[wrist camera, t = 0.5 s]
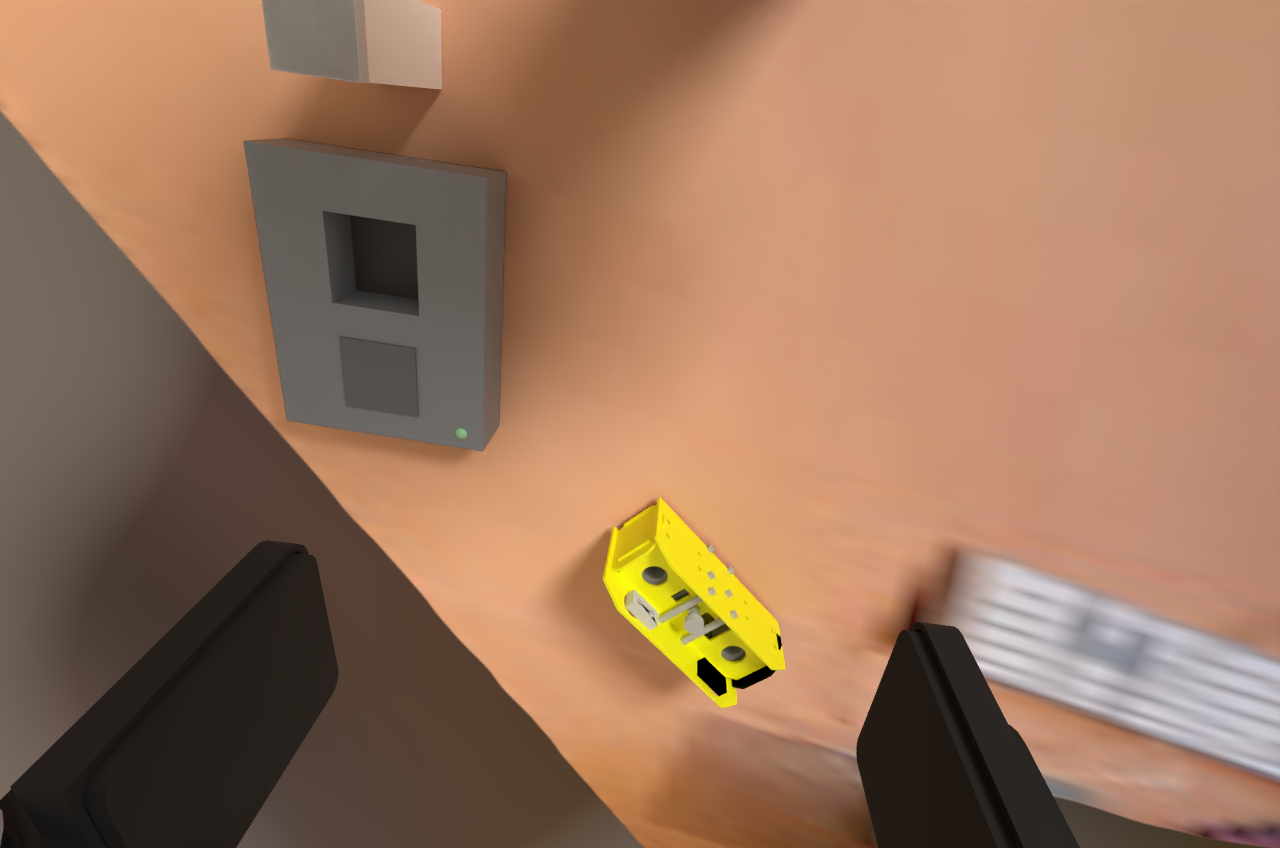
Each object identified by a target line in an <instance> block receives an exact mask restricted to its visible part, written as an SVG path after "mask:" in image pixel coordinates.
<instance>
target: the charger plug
mask: <svg viewBox="0 0 1280 848" xmlns="http://www.w3.org/2000/svg"><path fill="white" fill-rule="evenodd" d="M262 5H263V13H264V20H265V28H266V36H267V44H268V51H269V59H270V67H271V70H277V71H283V72H290V73H296V74H303V75H310V76H316V77H323V78H330V79H336V80H343V81H350V82H356V83H364V84H369V83H378V84H388V85H399V86H409V87H420V88H430V89H441V90H442V47H441V9H439V8H437V7H434V6H432V5H429V4H427V3H424V2H422V1H420V0H262Z"/></svg>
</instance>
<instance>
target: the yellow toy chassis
mask: <svg viewBox="0 0 1280 848" xmlns="http://www.w3.org/2000/svg"><path fill="white" fill-rule="evenodd" d="M713 551H714V548H713V547H712V545H709V546H706V545H705V544H704V543H703V542H702V541H701V540H700V539H699V538H698V537H697V536H696V535H695V534H694V533H693V531H692V530H691V529H690V528H689V527H688V526H687V525H686V524H685V523H684V522H683V521H682V520H681V519H680V518H679V517H678V516H677V515H676V513H675V512H674V511H673V510H672V509H671V508H670V507H669V506H668V505H667V504H666V503H665V502H664V501H663V500H662V499H661V498H660V497H659V498H658V502H657V505H652V506H650V507H649V508H647V509H646V510H644V511H643V512H641V513H639V514H638V515H636V516H635V517H633V518H632V519H630V520H629V521H627V522H625V523H624V526H623V527H622V528H621V529H620V530H618V529H617V528H616V527H615V526H614V527H613V528H612V533H611V538H610V543H609V548H608V553H607V558H606V563H605V568H604V573H603V578H602V579H603V581H604V583H605V585H606V588H607V590H608V592H609V594H610V596H611V598H612V601H613V603H614V605H615V607H616V609H617V611H619V612H620V613H621V614H622V615H623V616H624V617H625V618H626V619H627V620H628V621H629V622H630V623H631V624H632V625H633V626H634V627H636V628H637V629H638V630H639V631H640V632H641V633H642V634H643V635H644V636H645V637H646V638H647V639H648V640H649V641H650V642H652V643H653V644H654V645H655V646H656V647H657V648H658V649H659V650H660V651H661V652H662V653H663V654H664V655H665V656H666V657H667V658H669V659H670V660H671V661H672V662H673V663H674V664H675V665H676V666H677V667H678V668H679V669H680V670H681V671H682V672H683V673H684V674H686V675H687V676H688V677H689V678H690V679H691V680H692V681H693V682H694V683H695V684H696V685H697V686H698V687H699V688H700V689H701V690H703V691H704V692H705V693H706V694H707V695H708V696H709V697H710V698H711V699H712V700H713V701H714V702H715V703H716V704H717V705H719V706H720V707H721V708H726V707H730V706H734V705H736V704H737V694H736V688H740V689H745V688H747V687H749V686H751V685H753V684H755V683H758V682H760V681H762V680H764V679H766V678H768V677H770V676H772V674H773V673H774V672H775V671H776V670H785V663H784V656H783V650H782V643H781V637H780V631H779V625H778V622H777V621H776V620H775V619H774V617H773V616H772V615H771V614H770V613H769V612H768V611H767V610H766V609H765V608H764V607H763V606H762V605H761V604H760V603H759V602H758V600H757V599H756V598H755V597H754V596H753V595H752V594H751V593H750V592H749V591H748V590H747V589H746V588H745V587H744V586H743V585H742V583H741V582H740V581H739V580H738V579H737V578H736V577H735V576H734V575H733V574H732V573H734V569H733V568H732V567H731V566H730V567H729V568H726V567H725V565H724V564H723V563H722V562H721V561H720V560H719V559H718V558H717V557H716V556H715V555H714V554H713V553H712V552H713ZM625 596H627V598H626V604H625V603H624V598H625ZM626 608H627V609H628V610H629V611H630V612H631V613H632V614H633V615H634V616H635V617H636V618H634V617H633V616H631V615H630V614H629V612H628V611H627V609H626ZM709 687H710V688H711V689H712V690H713V691H714V692H715V693H716V694H717V695H718V696H717V695H715V694H714V693H713V692H712V691H711V689H710V688H709Z"/></svg>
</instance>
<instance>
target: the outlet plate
mask: <svg viewBox="0 0 1280 848" xmlns="http://www.w3.org/2000/svg"><path fill="white" fill-rule="evenodd" d="M244 147H245V154H246V160H247V167H248V173H249V180H250V186H251V193H252V199H253V205H254V212H255V218H256V225H257V231H258V238H259V244H260V251H261V257H262V263H263V270H264V276H265V283H266V289H267V296H268V302H269V309H270V315H271V321H272V328H273V334H274V341H275V347H276V354H277V360H278V367H279V373H280V380H281V386H282V392H283V399H284V405H285V412H286V418H287V421H293V422H300V423H306V424H312V425H319V426H325V427H331V428H338V429H344V430H350V431H357V432H363V433H369V434H376V435H382V436H388V437H395V438H401V439H408V440H414V441H420V442H427V443H433V444H439V445H446V446H452V447H458V448H465V449H471V450H477V451H483V450H484V449H485V447H486V446H487V444H488V442H489V441H490V439H491V438H492V436H493V434H494V433H495V431H496V430H497V428H498V427H499V417H500V382H501V346H502V311H503V276H504V240H505V205H506V172H504V171H498V170H491V169H484V168H478V167H471V166H465V165H458V164H451V163H445V162H438V161H432V160H425V159H418V158H412V157H405V156H399V155H392V154H386V153H379V152H372V151H366V150H359V149H353V148H346V147H339V146H333V145H326V144H320V143H313V142H307V141H300V140H293V139H287V138H283V139H267V140H251V141H244Z"/></svg>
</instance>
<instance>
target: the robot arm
mask: <svg viewBox="0 0 1280 848" xmlns="http://www.w3.org/2000/svg"><path fill="white" fill-rule="evenodd" d="M337 680H338V666H337V661H336V656H335V651H334V646H333V641H332V636H331V631H330V626H329V621H328V616H327V611H326V606H325V601H324V596H323V591H322V586H321V581H320V576H319V571H318V565H317V562H316V559H315V557H314V556H312V555H309V554H308V552H307V549H306V548H305V547H304V546H303V545H300V544H293V543H285V542H277V541H269V540H266V541H262V542H260V543H259V544H258V545H256V546H255V547H254V548H253V549H252V550H251V551H250V552H249V553H248V554H247V555H246V556H245V557H244V558H243V559H242V560H241V561H240V562H239V563H238V564H237V565H236V566H235V567H234V568H233V569H232V570H231V571H230V572H229V573H228V574H227V575H226V576H224V578H223V579H221V580H220V581H219V583H217V584H216V586H214V587H213V588H212V589H211V590H210V591H209V592H208V593H207V594H206V595H205V596H204V597H203V598H202V599H201V600H200V601H199V602H198V603H197V604H196V605H195V606H194V607H193V608H192V609H191V610H190V611H189V612H188V613H187V614H186V615H185V616H184V617H183V618H182V619H181V620H180V621H179V622H178V623H177V624H176V625H175V626H174V627H173V628H172V629H171V630H170V631H169V632H168V633H166V634H165V636H164V637H162V638H161V640H159V641H158V642H157V643H156V644H155V645H154V646H153V647H152V648H151V649H150V650H149V651H148V652H147V653H146V654H145V655H144V656H143V657H142V658H141V659H140V660H139V661H138V662H137V663H136V664H135V665H134V666H133V667H132V668H131V669H130V670H129V671H128V672H127V673H126V674H125V675H124V676H123V677H122V678H121V679H120V680H119V681H118V682H117V683H116V684H115V685H113V687H112V688H110V689H109V690H108V691H107V692H106V693H105V694H104V695H103V696H102V697H101V698H100V699H99V700H98V701H97V702H96V703H95V704H94V705H93V706H92V707H91V708H90V709H89V710H88V711H87V712H86V713H85V714H84V715H83V716H82V717H81V718H80V719H79V720H78V721H77V722H76V723H75V724H74V725H73V726H72V727H71V728H70V729H69V730H68V731H67V732H66V733H65V734H64V735H63V736H62V737H61V738H60V739H59V740H57V741H56V742H55V743H54V744H53V746H51V747H50V748H49V749H48V750H47V751H46V752H45V753H44V754H43V755H42V756H41V757H40V758H39V759H38V760H37V761H36V762H35V763H34V764H33V765H32V766H31V767H30V768H29V769H28V770H27V771H26V772H25V773H24V774H23V775H22V776H21V777H20V778H19V779H18V780H17V781H16V782H15V783H14V784H13V785H12V786H11V790H10V791H9V792H8V793H7V794H6V795H5V796H4V797H3V798H2V799H1V800H0V848H236V847H237V846H238V844H239V842H240V841H241V839H242V838H243V836H244V834H245V833H246V831H247V830H248V828H249V826H250V825H251V823H252V822H253V820H254V818H255V817H256V815H257V814H258V812H259V810H260V809H261V807H262V806H263V804H264V802H265V801H266V799H267V798H268V796H269V794H270V793H271V791H272V790H273V788H274V786H275V785H276V783H277V782H278V780H279V778H280V777H281V775H282V774H283V772H284V770H285V769H286V767H287V766H288V764H289V763H290V761H291V759H292V758H293V756H294V754H295V753H296V751H297V750H298V748H299V746H300V745H301V743H302V742H303V740H304V739H305V737H306V735H307V734H308V732H309V730H310V729H311V727H312V726H313V724H314V723H315V721H316V719H317V718H318V716H319V715H320V713H321V711H322V710H323V708H324V707H325V705H326V703H327V702H328V700H329V699H330V697H331V695H332V694H333V692H334V690H335V687H336V684H337ZM857 762H858V767H859V771H860V775H861V779H862V783H863V787H864V791H865V795H866V799H867V803H868V807H869V811H870V815H871V819H872V823H873V828H874V832H875V836H876V840H877V844H878V848H1080V847H1079V845H1078V843H1077V841H1076V839H1075V837H1074V835H1073V834H1072V832H1071V830H1070V828H1069V826H1068V824H1067V822H1066V820H1065V818H1064V816H1063V814H1062V813H1061V811H1060V809H1059V807H1058V805H1057V803H1056V801H1055V799H1054V797H1053V795H1052V793H1051V792H1050V790H1049V788H1048V786H1047V784H1046V782H1045V780H1044V778H1043V776H1042V774H1041V772H1040V770H1039V769H1038V767H1037V765H1036V763H1035V761H1034V759H1033V757H1032V755H1031V753H1030V751H1029V749H1028V748H1027V746H1026V744H1025V742H1024V741H1023V739H1022V738H1021V736H1020V735H1019V733H1018V732H1017V731H1016V730H1015V729H1014V728H1013V727H1012V726H1010V725H1008V723H1007V721H1006V719H1005V717H1004V715H1003V713H1002V711H1001V709H1000V707H999V706H998V704H997V702H996V700H995V698H994V696H993V694H992V692H991V690H990V688H989V686H988V684H987V682H986V680H985V678H984V676H983V674H982V672H981V670H980V668H979V666H978V664H977V663H976V661H975V659H974V657H973V655H972V653H971V651H970V649H969V647H968V645H967V643H966V641H965V639H964V637H963V635H962V634H961V632H960V631H959V629H957V628H956V627H953V626H945V625H937V624H929V623H921V622H916V623H914V624H913V625H912V627H911V629H910V631H908V630H902V631H901V632H900V634H899V636H898V638H897V641H896V643H895V646H894V648H893V651H892V654H891V656H890V659H889V661H888V664H887V666H886V669H885V671H884V674H883V676H882V679H881V682H880V684H879V687H878V689H877V692H876V694H875V697H874V699H873V702H872V704H871V707H870V710H869V712H868V715H867V717H866V720H865V722H864V725H863V727H862V730H861V732H860V735H859V738H858V741H857Z"/></svg>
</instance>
